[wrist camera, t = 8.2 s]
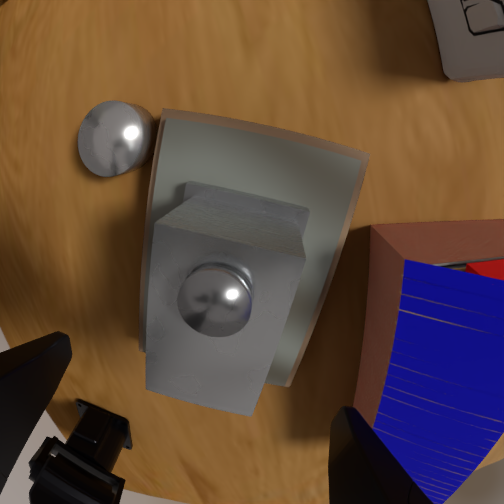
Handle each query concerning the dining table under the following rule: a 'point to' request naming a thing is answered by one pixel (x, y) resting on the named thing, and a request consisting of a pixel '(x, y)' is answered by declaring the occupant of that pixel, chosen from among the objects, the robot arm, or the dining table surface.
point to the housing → (221, 294)
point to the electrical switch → (470, 38)
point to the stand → (268, 185)
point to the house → (435, 347)
